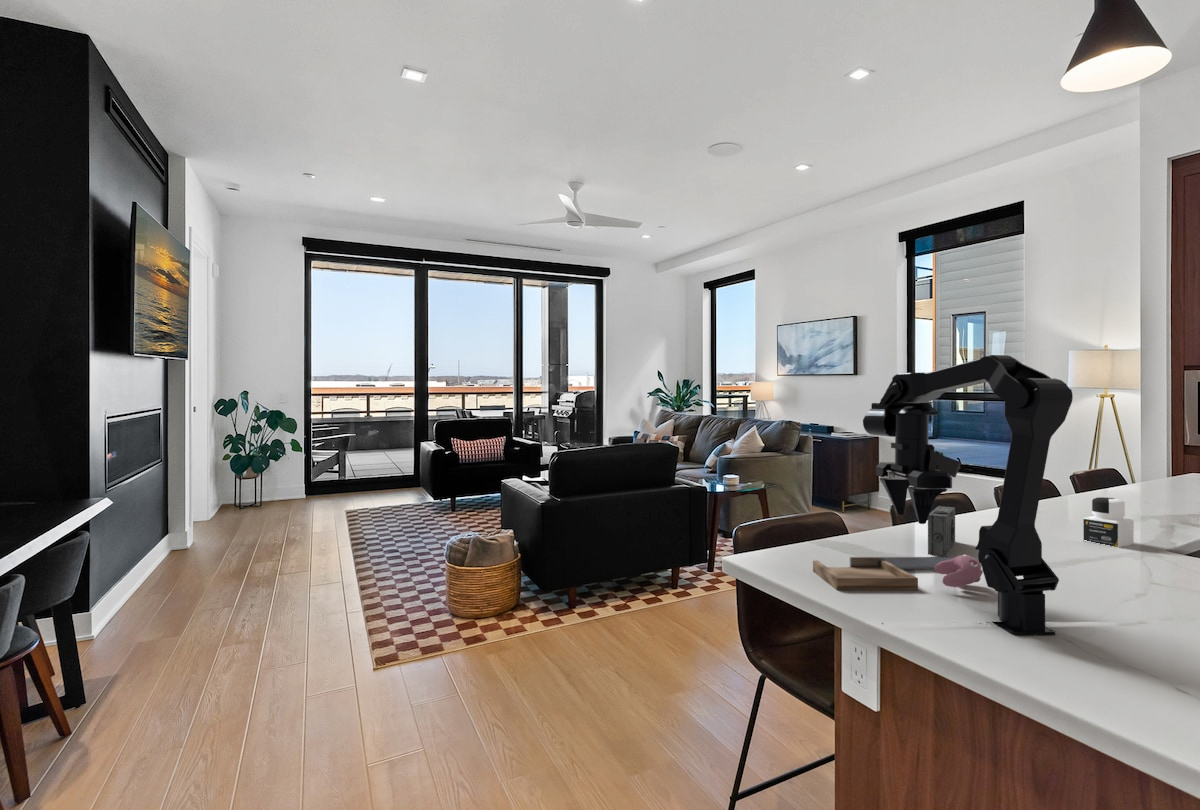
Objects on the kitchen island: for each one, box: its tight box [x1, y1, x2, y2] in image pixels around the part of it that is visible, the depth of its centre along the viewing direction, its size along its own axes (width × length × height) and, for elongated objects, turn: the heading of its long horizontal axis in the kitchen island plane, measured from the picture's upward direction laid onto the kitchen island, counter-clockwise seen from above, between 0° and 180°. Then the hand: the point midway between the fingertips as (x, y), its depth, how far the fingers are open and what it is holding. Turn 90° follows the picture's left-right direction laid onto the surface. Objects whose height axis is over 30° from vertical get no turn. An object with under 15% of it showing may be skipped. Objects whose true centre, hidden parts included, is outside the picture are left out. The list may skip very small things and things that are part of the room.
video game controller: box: [934, 553, 983, 588], centre depth 115 cm, size 10×5×7 cm
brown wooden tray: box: [812, 560, 919, 591], centre depth 120 cm, size 13×15×2 cm
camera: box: [927, 505, 956, 557], centre depth 143 cm, size 16×4×10 cm, turn 143°
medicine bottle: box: [1083, 496, 1135, 548], centre depth 147 cm, size 7×7×12 cm
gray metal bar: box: [849, 554, 975, 570], centre depth 128 cm, size 2×26×2 cm, turn 90°
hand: (910, 519), depth 118 cm, fingers open, 8 cm apart
